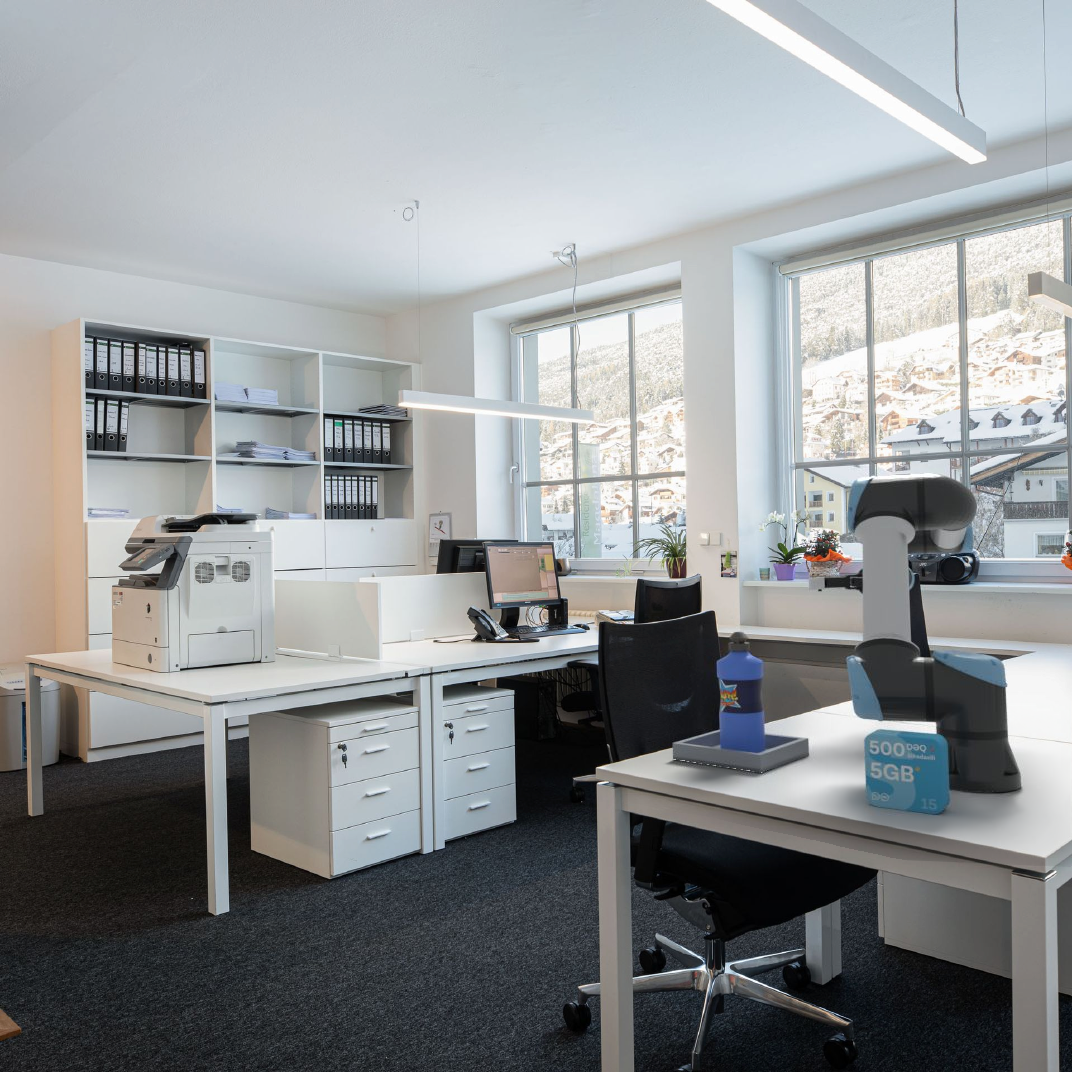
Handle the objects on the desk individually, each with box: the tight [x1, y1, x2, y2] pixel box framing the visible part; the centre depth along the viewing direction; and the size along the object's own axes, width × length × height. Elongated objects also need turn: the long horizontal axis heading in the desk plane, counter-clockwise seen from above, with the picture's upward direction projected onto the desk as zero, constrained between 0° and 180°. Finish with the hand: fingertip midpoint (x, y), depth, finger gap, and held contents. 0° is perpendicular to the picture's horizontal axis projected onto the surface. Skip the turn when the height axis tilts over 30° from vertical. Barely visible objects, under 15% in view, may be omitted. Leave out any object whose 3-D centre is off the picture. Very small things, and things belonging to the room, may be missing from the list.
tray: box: [672, 729, 810, 774], centre depth 190 cm, size 20×20×4 cm
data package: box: [863, 728, 951, 815], centre depth 151 cm, size 12×4×12 cm, turn 54°
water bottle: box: [716, 631, 766, 753], centre depth 191 cm, size 9×9×25 cm
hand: (839, 583), depth 206 cm, fingers open, 13 cm apart
